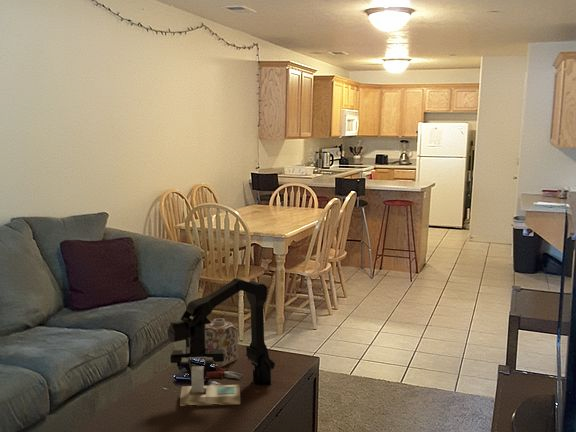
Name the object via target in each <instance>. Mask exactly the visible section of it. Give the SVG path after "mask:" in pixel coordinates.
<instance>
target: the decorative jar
mask: <svg viewBox="0 0 576 432" xmlns="http://www.w3.org/2000/svg"><path fill="white" fill-rule="evenodd" d="M238 334H239V332H238V329H237V327H236V326H235V325H234V324H233V323H232V322H230V321H226V320H225V318H221V317H219V318H214V319H213V321H211V323H210V324H205V337H206V353H213V349H223V350H224V361H223V362H215V361H214V363H216V364H217V365H218V366H219V367H220V368H223V367H225V366H226V365H228V364H231V363H233V362H236V361H237V360H238V357H239V337H238ZM199 359H204V360H206V358H199Z"/></svg>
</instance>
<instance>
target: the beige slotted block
mask: <svg viewBox="0 0 576 432" xmlns="http://www.w3.org/2000/svg"><path fill="white" fill-rule="evenodd" d="M212 404H220V405H219V406H222V405H223V406H225V405H226V406H227V405H228V406H229V405H241V385H240V384H218V385H217V384H216V385H204V392H192V385H185V386H184V385H183V386H181V391H180V397H179V406H180V407H186V406H185V405H197V406H213V405H212Z"/></svg>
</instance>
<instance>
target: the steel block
mask: <svg viewBox="0 0 576 432" xmlns="http://www.w3.org/2000/svg"><path fill="white" fill-rule="evenodd" d="M190 381H191V386H192V392H204V386H205V379H204V366H202V365H201V366H200V365H196V366H195V365H194V366H193V365H191V379H190Z"/></svg>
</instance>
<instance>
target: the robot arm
mask: <svg viewBox="0 0 576 432" xmlns="http://www.w3.org/2000/svg"><path fill="white" fill-rule="evenodd" d="M268 291H269V289H268V286H267V285H265V284H264V283H261V282H258V281H256V280H250V281H247V280H244V279H241V278H238V277H235V278H232V280H231V281H230V282H228V283H227V284H225V285H223V286H221V287H220V288H218V289H217V290H215V291H214V292H212V293H210V294H208V295H207V296H204V297H203V296H202V297H200V298H196V299H194V300H191V301H190V302H188V304H187V307H186V309H185V311H184V313H183V314H182V316H181V317H180V321H179V320H178V321H170V323H169V324H170V325H169V326H168V329H167V338H168V340H169V343H176V342H182V341H185V345H186V346H185V347H186V348H188V349H189V350H188V351H189V352H186V353H183V351H184V350H183V349H179V350H177V349H176V350H172V351H171V353H170V358H169V359H170V363H171V364H180V365H182V366H184V368H185V370H186V372H187V373H188V376H189V377H188V378H189V379H190V380H191V370H192V365H191V364H192V363H191V360H192V359H193V360H194V359H200V358H206V360H205V368H204V380H206V378H205V377H206V374H207V372H209V370H210V369H209V367H210V365H211V364H214V361H215V362H223V361H224V350H223V349H213V353H206V337H205V324H210V323H211V322H212V321H210V320H209V319H208V316H210V314H212V312H213V310H214V309H215V308H216V307H217V306H219V305H220V304H222V303H223V302H225V301H227V300H229V298H231V297H233V296H234V295H236V294H237V293H239V292H245V295H246V299H247V301H248V303H249V306H250V329H251V330H250V332H251V333H250V334H251V335H250V336H251V338H250V339H251V342H250V344H249V345H246V350H245V351H246V354H245V356H246V357H247V360H248V361H250V363H251V365H252V366H253V369H252V382H253V383H254V384H253V385H254V386H270V385H272V370H274V368H275V365H276V363H275V362H274V361H273V360H272V359H271V358H270V355H269V349H268V347H267V345H266V343H265V321H264V320H265V317H264V314H265V313H264V306H265V303H266V302H267V300H268V299H267V298H268Z"/></svg>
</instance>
